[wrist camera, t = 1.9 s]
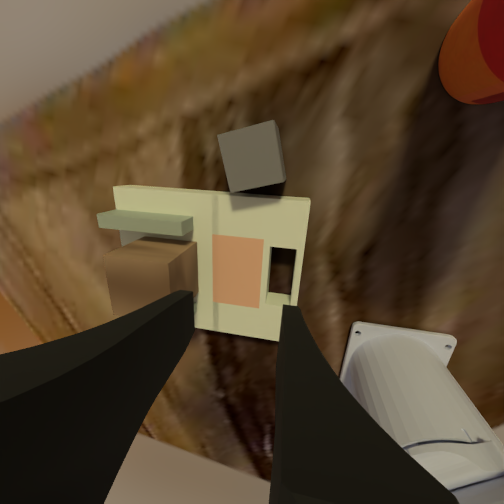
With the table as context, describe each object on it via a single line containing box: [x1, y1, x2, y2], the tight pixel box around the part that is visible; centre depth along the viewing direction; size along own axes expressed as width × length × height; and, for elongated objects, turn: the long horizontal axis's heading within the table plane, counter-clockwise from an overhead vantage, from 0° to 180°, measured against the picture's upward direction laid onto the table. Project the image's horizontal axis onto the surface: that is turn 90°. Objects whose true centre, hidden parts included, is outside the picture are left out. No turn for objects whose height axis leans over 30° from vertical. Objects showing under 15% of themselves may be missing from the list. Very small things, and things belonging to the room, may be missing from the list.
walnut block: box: [103, 236, 199, 316], centre depth 18 cm, size 4×4×4 cm
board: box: [97, 185, 311, 341], centre depth 19 cm, size 12×15×4 cm
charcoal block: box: [217, 120, 286, 193], centre depth 16 cm, size 4×4×4 cm
